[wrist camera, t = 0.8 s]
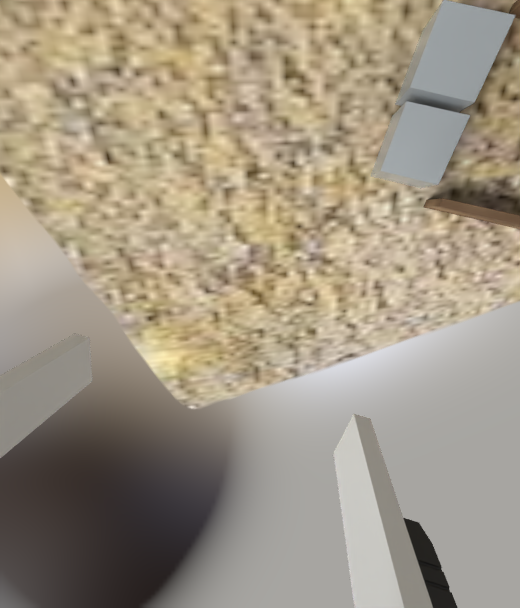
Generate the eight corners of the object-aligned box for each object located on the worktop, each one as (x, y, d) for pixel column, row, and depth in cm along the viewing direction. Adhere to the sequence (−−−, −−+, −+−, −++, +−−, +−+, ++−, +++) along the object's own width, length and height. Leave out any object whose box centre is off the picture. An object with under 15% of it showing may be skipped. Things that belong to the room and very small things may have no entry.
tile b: (391, 116, 27) (406, 101, 23) (446, 129, 26) (470, 115, 23) (369, 176, 29) (380, 170, 25) (420, 188, 29) (438, 184, 25)
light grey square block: (421, 32, 24) (443, -1, 20) (482, 46, 24) (515, 14, 20) (394, 105, 26) (410, 87, 23) (449, 118, 26) (474, 102, 22)
